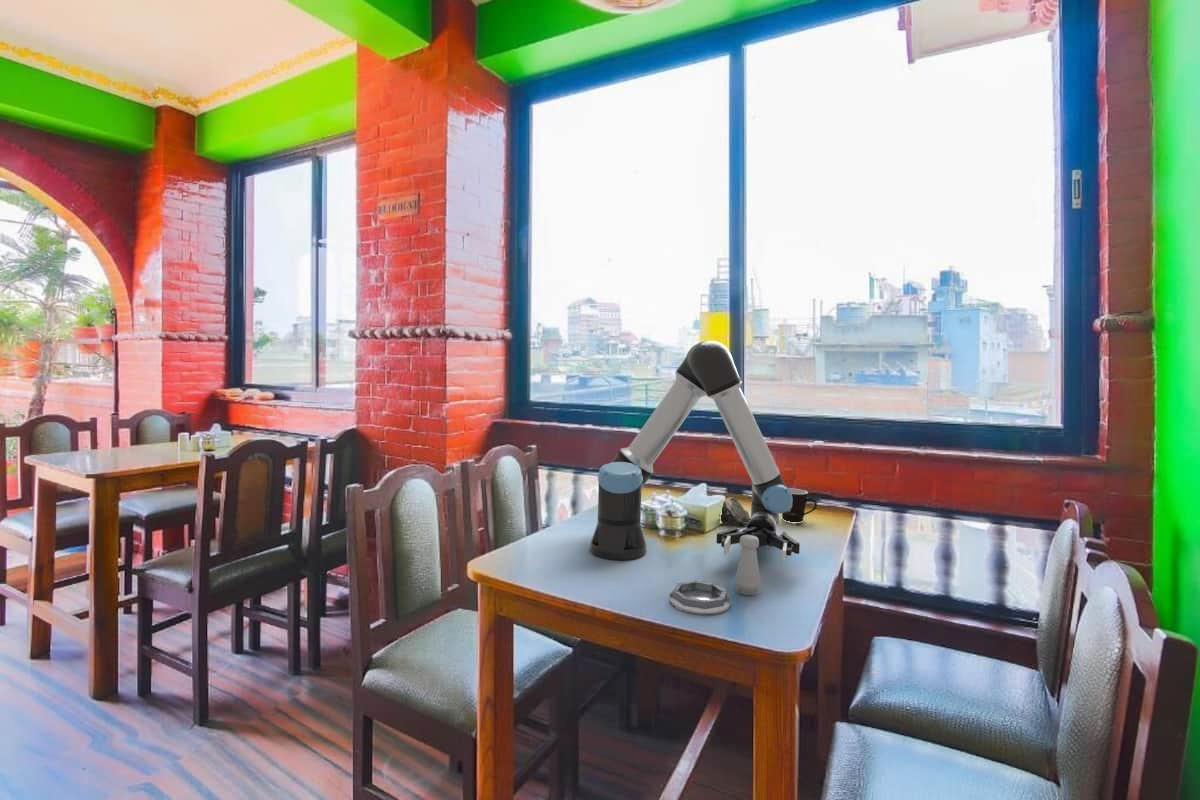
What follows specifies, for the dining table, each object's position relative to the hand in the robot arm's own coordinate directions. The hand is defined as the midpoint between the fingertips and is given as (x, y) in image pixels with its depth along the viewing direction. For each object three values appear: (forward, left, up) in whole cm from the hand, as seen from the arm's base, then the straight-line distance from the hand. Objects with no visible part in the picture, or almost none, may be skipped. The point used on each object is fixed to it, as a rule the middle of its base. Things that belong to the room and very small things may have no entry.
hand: (754, 552), depth 142 cm
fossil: (-11, +49, -7) cm, 51 cm away
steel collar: (-10, -18, -7) cm, 21 cm away
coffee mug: (+7, +59, -7) cm, 60 cm away
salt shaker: (-1, -8, -7) cm, 10 cm away
